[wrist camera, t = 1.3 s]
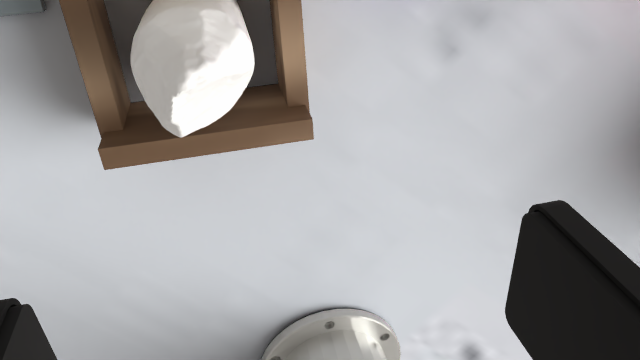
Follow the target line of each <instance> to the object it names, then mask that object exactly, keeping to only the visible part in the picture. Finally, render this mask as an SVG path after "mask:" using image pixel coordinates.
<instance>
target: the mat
mask: <svg viewBox="0 0 640 360" xmlns="http://www.w3.org/2000/svg"><path fill="white" fill-rule="evenodd" d="M45 10H46V6H45V3H44V0H0V16H9V15H19V14H29V13H38V12H44V11H45Z"/></svg>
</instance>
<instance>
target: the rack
mask: <svg viewBox="0 0 640 360" xmlns="http://www.w3.org/2000/svg"><path fill="white" fill-rule="evenodd" d="M269 1H270V11H271V20H272V30H273V39H274V49H275V58H276V68H277V77H278V84H272V85H264V86H257V87H249V88H245V90H244V91H243V93H242V95H241V96H240V98H239V99H238V100H237V102H236V103H235V105H234V106H233V107H232V108H231V110H230V111H228V112H227V113H226V114H225V115H223V116H222V117H221V118H219V119H218V120H217V121H215V122H213V123H211V124H210V125H208V126H206V127H204V128H201V129H199V130H196V131H194V132H192V133H190V134H188V135H187V136H184V137H178V136H176V135H174V134H172V133H171V132H169V131H168V130H166V129H165V128H164V127H163V126H162V125H161V123H160V122H159V120H158V119H157V118H156V116H155V115H154V113H153V112H152V110H151V109H150V108H149V107H148V105H147V104H146V102H145V101H141V102H133V103H131V102H130V98H129V94H128V90H127V87H126V83H125V79H124V75H123V72H122V68H121V64H120V60H119V56H118V53H117V49H116V45H115V41H114V38H113V34H112V30H111V26H110V22H109V19H108V15H107V11H106V7H105V4H104V0H59V2H60V5H61V9H62V12H63V15H64V18H65V22H66V25H67V28H68V31H69V35H70V38H71V41H72V44H73V48H74V51H75V54H76V57H77V61H78V64H79V67H80V70H81V73H82V77H83V80H84V83H85V86H86V90H87V93H88V96H89V99H90V103H91V106H92V109H93V112H94V116H95V119H96V122H97V125H98V129H99V132H100V135H101V138H102V139H101V142H100V145H99V148H98V151H99V154H100V157H101V161H102V164H103V167H104V170H107V169H114V168H121V167H128V166H135V165H141V164H148V163H155V162H162V161H169V160H175V159H182V158H189V157H196V156H203V155H209V154H216V153H223V152H230V151H237V150H243V149H250V148H257V147H264V146H271V145H277V144H284V143H291V142H298V141H305V140H311V139H314V136H313V122H312V117H311V115H310V113H309V100H308V86H307V73H306V60H305V46H304V33H303V19H302V6H301V0H269Z"/></svg>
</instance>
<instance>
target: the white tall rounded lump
mask: <svg viewBox="0 0 640 360" xmlns="http://www.w3.org/2000/svg"><path fill="white" fill-rule="evenodd" d="M254 65H255V63H254V53H253V46H252V42H251V39H250V36H249V33H248V31H247V28H246V25H245V22H244V18H243V15H242V13H241V10H240V8H239V5H238V3H237V1H236V0H153V1H152V2H151V4H150V5H149V7H148V8H147V9H146V11H145V13H144V15H143V17H142V19H141V22H140V24H139V26H138V29H137V31H136V33H135V35H134V38H133V43H132V48H131V68H132V72H133V76H134V78H135V81H136V83H137V86H138V88H139V90H140V92H141V94H142V95H143V97H144V100H145V102H146V104H147V105H148V107H149V108H150V109H151V110H152V112H153V113H154V115H155V116H156V118H157V119H158V120H159V122H160V123H161V125H162V126H163V127H164V128H165V129H166V130H168V131H169V132H171V133H172V134H174V135H176V136H178V137H184V136H187V135H188V134H190V133H192V132H194V131H196V130H199V129H201V128H204V127H206V126H208V125H210V124H211V123H213V122H215V121H217V120H218V119H219V118H221V117H222V116H223V115H225V114H226V113H227V112H228V111H230V110H231V108H232V107H233V106H234V105H235V103H236V102H237V100H238V99H239V98H240V96H241V95H242V93H243V91H244V90H245V88H246V87H247V85H248V83H249V81H250V79H251V77H252V74H253V71H254Z"/></svg>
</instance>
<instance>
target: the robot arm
mask: <svg viewBox="0 0 640 360" xmlns="http://www.w3.org/2000/svg"><path fill="white" fill-rule="evenodd" d="M505 314H506V319H507V321H508V324H509V325H510V327H511V329H512V330H513V332H514V333H515V334H516V336H517V337H518V339H519V340H520V342H521V343H522V344H523V346H524V347H525V349H526V350H527V352H528V353H529V355H530V356H531V357H532V359H533V360H640V267H638V266H637V265H636V264H635V263H634V262H633V261H632V260H631V259H629V258H628V257H627V256H626V255H625V254H624V253H623V252H622V251H620V250H619V249H618V248H617V247H616V246H615V245H614V244H613V243H611V242H610V241H609V240H608V239H607V238H606V237H605V236H604V235H602V234H601V233H600V232H599V231H598V230H597V229H596V228H595V227H593V226H592V225H591V224H590V223H589V222H588V221H587V220H586V219H584V218H583V217H582V216H581V215H580V214H579V213H578V212H577V211H576V210H574V209H573V208H572V207H571V206H570V205H569V204H568V203H566V202H564V201H561V200H558V201H552V202H547V203H541V204H536V205H533V206H532V207H531V208H530V209H529V212H528V213H527V214H525V215H524V216H523V218H522V222H521V227H520V233H519V238H518V243H517V248H516V254H515V259H514V264H513V270H512V275H511V280H510V286H509V291H508V296H507V301H506V307H505ZM400 355H401V352H400V345H399V342H398V340H397V337H396V335H395V333H394V331H393V329H392V328H391V326H390V325H389V324H388V323H387V322H386V321H385V320H384V319H382V318H380V317H378V316H377V315H375V314H372V313H369V312H366V311H363V310H356V309H333V310H327V311H322V312H319V313H316V314H312V315H309V316H307V317H305V318H303V319H301V320H298V321H296V322H295V323H293V324H292V325H290V326H289V327H287V328H285V329H284V330H283V331H282V332H281V333H280V334H278V335H277V336H276V337H275V338H274V339H273V341H272V342H271V343H270V344H269V346H268V347H267V349H266V351H265V353H264V355H263V357H262V360H400ZM0 360H57V358H56V356H55V354H54V352H53V350H52V348H51V346H50V344H49V342H48V340H47V337H46V335H45V333H44V331H43V329H42V327H41V325H40V323H39V321H38V319H37V317H36V315H35V313H34V311H33V309H32V307H31V306H30V305H29V304H24V305H21V304H20V302H19V301H18V300H17V299H15V298H10V299H5V300H0Z"/></svg>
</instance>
